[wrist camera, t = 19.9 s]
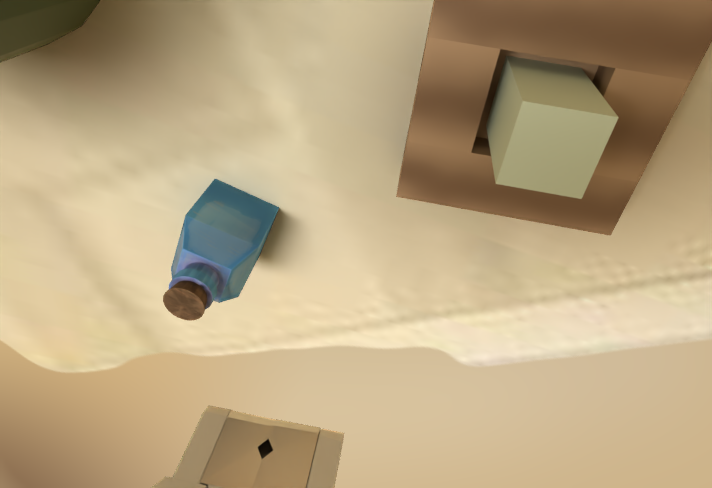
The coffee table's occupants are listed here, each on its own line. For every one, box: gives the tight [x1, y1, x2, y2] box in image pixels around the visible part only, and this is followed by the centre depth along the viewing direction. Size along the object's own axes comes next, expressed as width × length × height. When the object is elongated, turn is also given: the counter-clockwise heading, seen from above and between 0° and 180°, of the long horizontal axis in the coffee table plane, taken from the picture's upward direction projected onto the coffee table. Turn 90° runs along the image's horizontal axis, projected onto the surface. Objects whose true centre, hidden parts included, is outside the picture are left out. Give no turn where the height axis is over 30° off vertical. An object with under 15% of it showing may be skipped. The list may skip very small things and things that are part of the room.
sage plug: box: [486, 55, 619, 199], centre depth 31 cm, size 5×5×9 cm
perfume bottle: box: [163, 179, 279, 320], centre depth 42 cm, size 6×6×12 cm
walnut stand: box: [396, 0, 712, 235], centre depth 34 cm, size 16×16×4 cm
